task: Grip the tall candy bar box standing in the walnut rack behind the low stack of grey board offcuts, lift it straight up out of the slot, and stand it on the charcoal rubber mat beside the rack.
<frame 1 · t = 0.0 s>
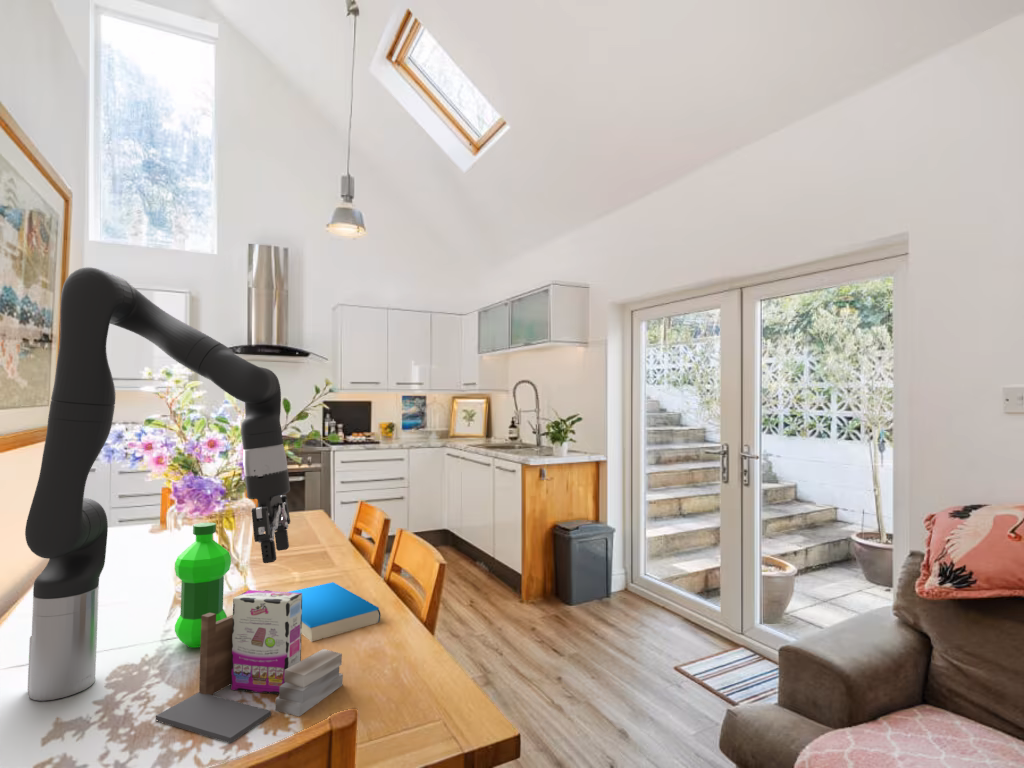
hand: (276, 555, 105), 22 cm above the table, tool pointing down, fingers open, 8 cm apart
mat: (213, 718, 90), on the table
rack: (266, 686, 100), on the table
book: (323, 618, 134), on the table
plastic bottle: (201, 643, 118), on the table
candy bar box: (266, 687, 100), on the table
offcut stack: (310, 697, 96), on the table
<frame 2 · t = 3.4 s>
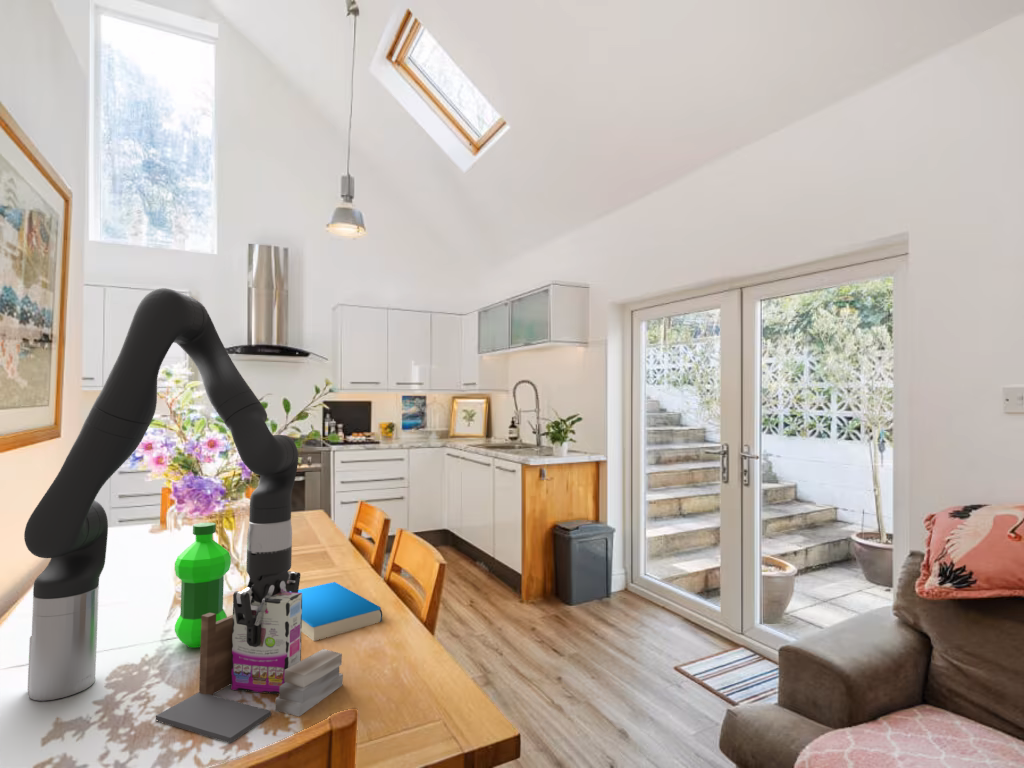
hand: (267, 638, 100), 9 cm above the table, tool pointing down, fingers closed on candy bar box, 5 cm apart
candy bar box: (266, 687, 100), on the table, touching gripper
everything else where it was.
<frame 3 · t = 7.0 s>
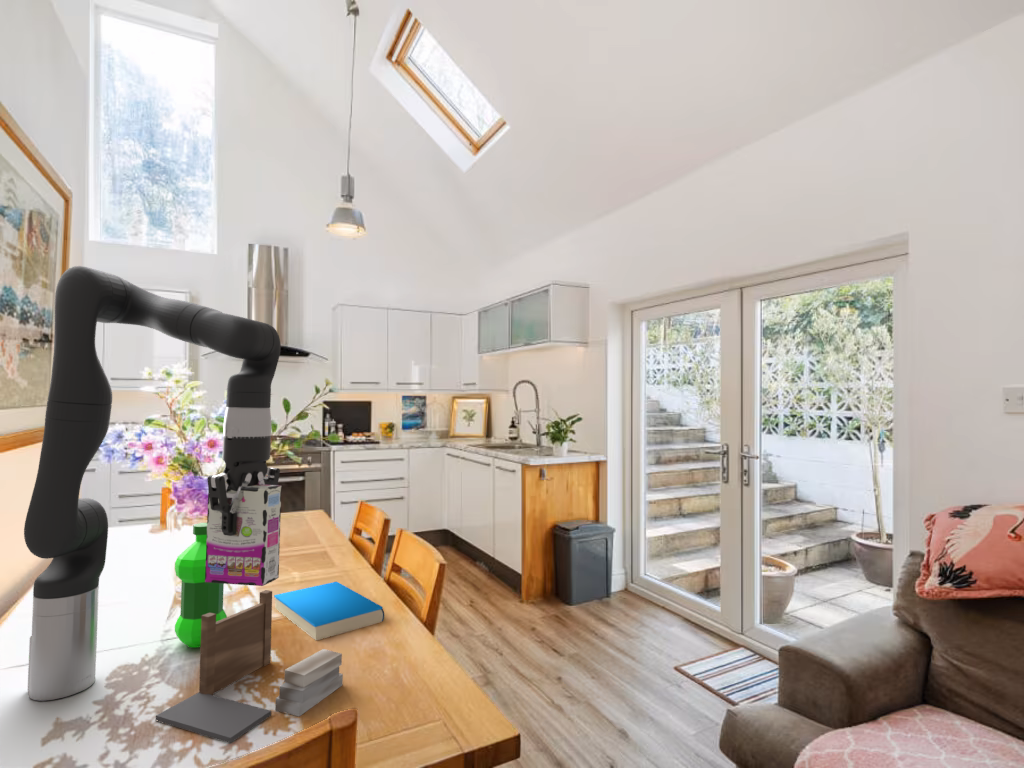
hand: (243, 530, 96), 29 cm above the table, tool pointing down, fingers closed on candy bar box, 5 cm apart
candy bar box: (242, 581, 95), point 20 cm above the table, touching gripper
everything else where it was.
when the fingers open (10 cm above the table, at t = 10.4 s): candy bar box stays where it is, resting on mat.
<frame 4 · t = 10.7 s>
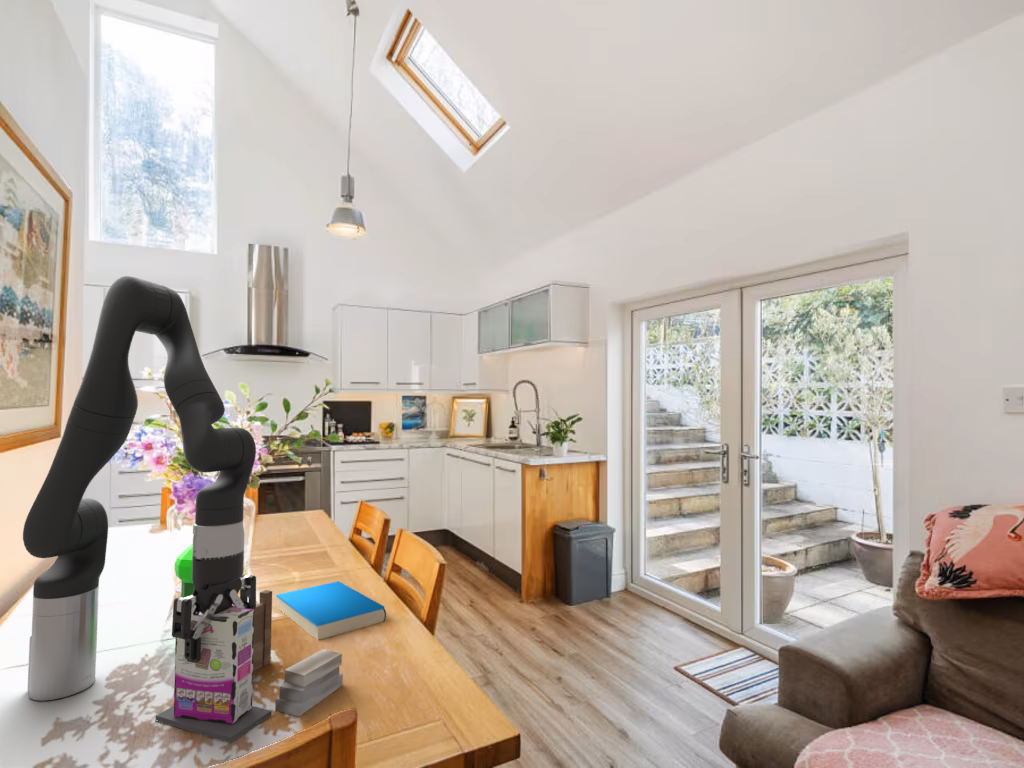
hand: (215, 650, 90), 11 cm above the table, tool pointing down, fingers open, 8 cm apart
candy bar box: (213, 714, 90), point 1 cm above the table, touching mat
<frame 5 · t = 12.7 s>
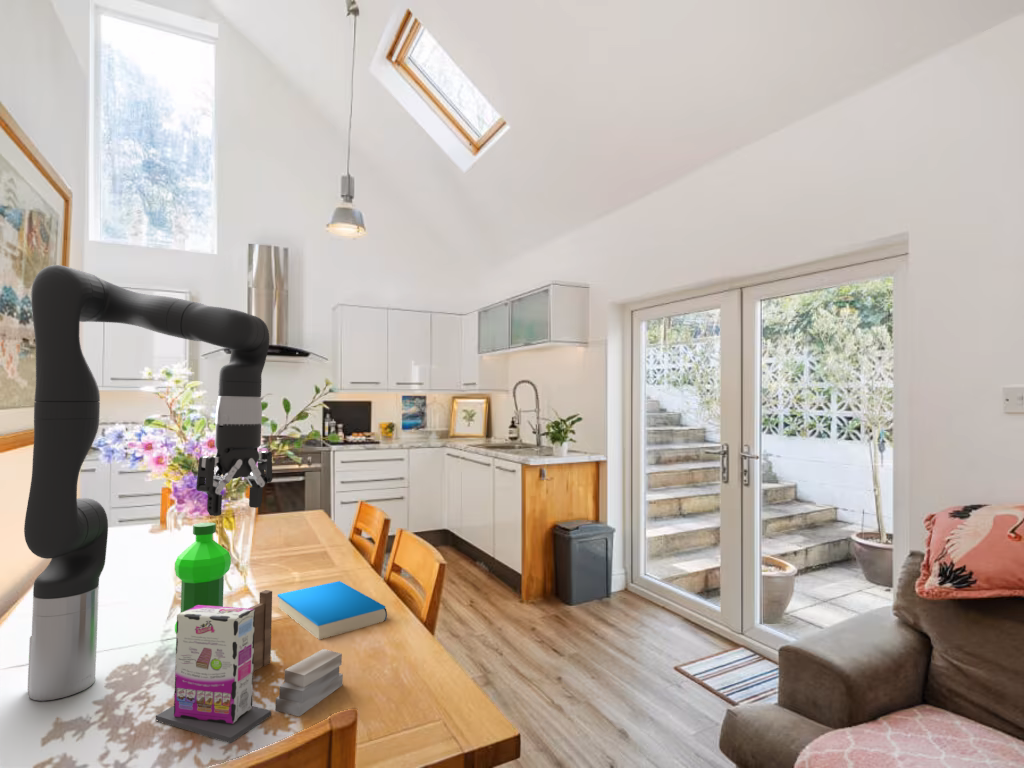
hand: (235, 511, 100), 32 cm above the table, tool pointing down, fingers open, 8 cm apart
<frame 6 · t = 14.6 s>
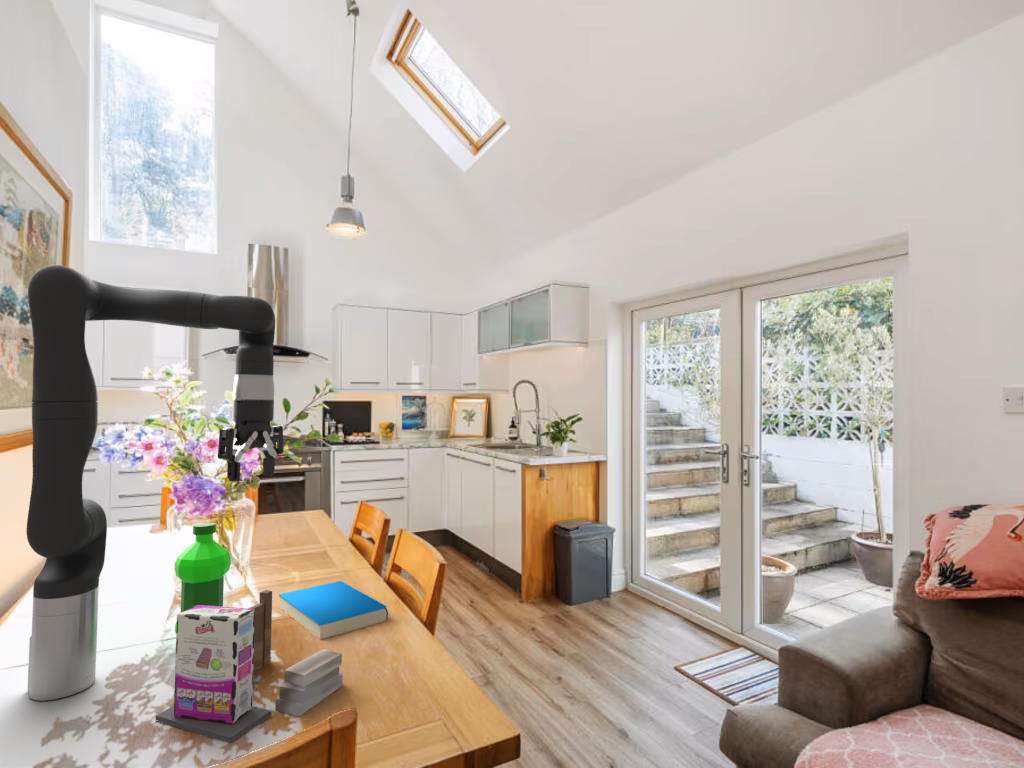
hand: (251, 478, 111), 36 cm above the table, tool pointing down, fingers open, 8 cm apart
at the end: candy bar box inside the target area on the mat (0.1 cm from its centre), point 0.6 cm above the mat's base; candy bar box tilted 0°; the gripper is holding nothing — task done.
